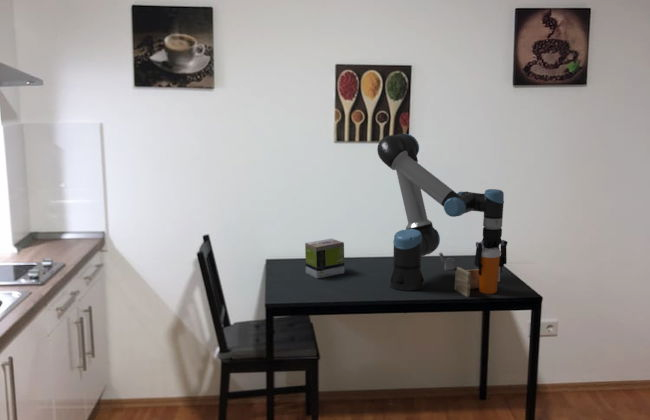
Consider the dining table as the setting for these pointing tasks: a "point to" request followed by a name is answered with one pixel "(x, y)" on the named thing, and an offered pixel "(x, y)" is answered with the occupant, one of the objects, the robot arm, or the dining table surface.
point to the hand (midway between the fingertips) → (489, 281)
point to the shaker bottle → (489, 269)
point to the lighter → (447, 262)
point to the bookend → (466, 280)
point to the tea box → (324, 258)
